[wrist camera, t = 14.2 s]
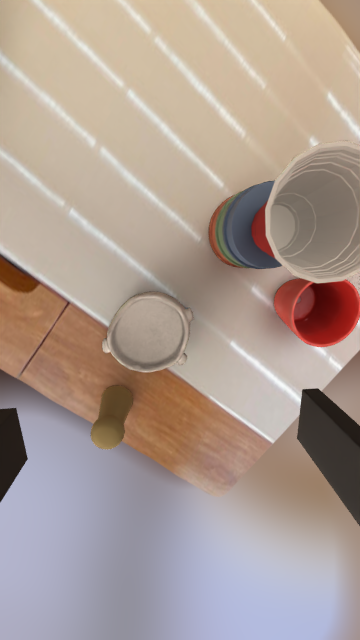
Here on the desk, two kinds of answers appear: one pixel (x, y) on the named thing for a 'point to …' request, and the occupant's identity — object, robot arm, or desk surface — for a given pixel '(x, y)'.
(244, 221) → the cup stack
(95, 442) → the wooden peg doll
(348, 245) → the plastic cup
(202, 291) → the desk surface
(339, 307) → the flower pot
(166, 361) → the dish
